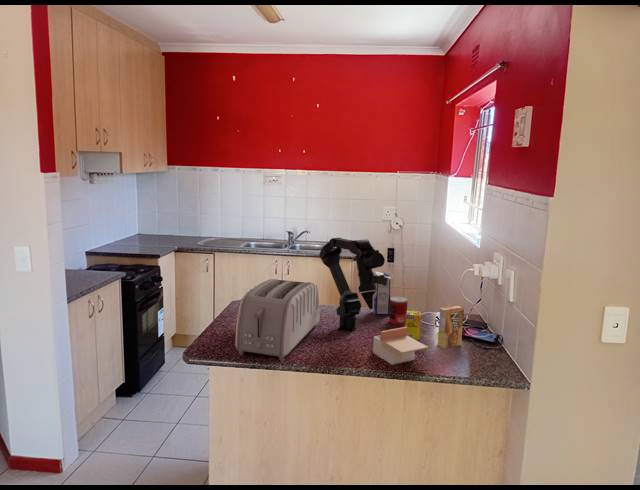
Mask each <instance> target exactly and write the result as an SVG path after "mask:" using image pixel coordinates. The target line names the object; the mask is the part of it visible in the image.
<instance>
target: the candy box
mask: <svg viewBox="0 0 640 490" xmlns="http://www.w3.org/2000/svg"><path fill="white" fill-rule="evenodd" d="M464 312H465V310H464V308H463V307H461V306H459V305H454V306H447V307H440V309H439V321H438V331H437V332H438V333H437V346H439V347H441V348H442V349H446V348H452V347H457V346H461V345H462V337H463V326H464V325H463V324H464Z"/></svg>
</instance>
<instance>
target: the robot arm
mask: <svg viewBox="0 0 640 490" xmlns="http://www.w3.org/2000/svg"><path fill="white" fill-rule="evenodd" d="M342 249H343V250H347V251H349V252H350V253H351V254H353V255H355V256H354V258H353V262H355V263H356V268H357V269H356V270H357V277H358V280H359V285H358V292H359V293H360V295H361V297H362V298H363V300H364V302H365V303H366V305H367V307H368V309H369V310H373V308H374V294H375V292H376V291H374V290H377V289H376V284H375V283H377V284H382V285H384V286H387V281H388V278H385V276H384V275H380V276H375V272H374V271H373V269H378V268H381V267H383V266H384V265H385V262H386V259H385V257H384V255H383V253H381V252H380V249H376V248H374V246H373V245H372V244H371V242H370V240H368V239H357V240H356V239H355V240H353V239H347V238H342V237H332V238H330V239H329V240H328V242H327V243H326V244H325V245H323V246H322V248H321V250H320V252H319V258H320V260H321V263H323V265H325V266H326V267H327V268H328V269H329V271H330V274H331V276H332V279H333V281H334V283H335V286H336V289H337V290H338V293H339V295H340V297H339V306H338V307H337V308H336V311H335V312H336V315H337V316H339V327H337V330H342V331H348V332H353V331H354V330H355V329H356V328H357V327H358V318H357V315H360V312H361V309H362V302H361V299H360V298H359V295H358V293H357V292H353V291H351V288H350V286H349V283H348V281H347V278H346V277H345V273H344V272H343V270H342V267H341V265H340V262H341V253H342V252H343V251H342Z"/></svg>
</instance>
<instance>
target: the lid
mask: <svg viewBox="0 0 640 490" xmlns="http://www.w3.org/2000/svg"><path fill="white" fill-rule="evenodd" d="M380 341H381V342H382V347H383V348H385V349H387V350H388V351H390V352H392V353H393V354H395V355H397V356H398V357H400V358H402V359H403V353H408V352H413V351H415V352H417V351H422V352H424V353H426V354H428V353H429V346H427V345H425V344H424V343H421V342H420V341H416V340H414V339H413V338H411V337H409V336H407V327H405V326H404V327H398V328H391V329H387V330H382V331H380Z"/></svg>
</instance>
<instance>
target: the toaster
mask: <svg viewBox="0 0 640 490" xmlns="http://www.w3.org/2000/svg"><path fill="white" fill-rule="evenodd" d="M318 289H319V288H318V285H317V284H315V283H314V282H309V281H307V282H305V281H293V280H285V279H284V280H283V279H282V280H281V279H277V278H270V279H269V278H268V279H267V280H265V281H262V282H260V283H258V284H257V285H255V286H253V288H250V289H249V291H246V292H245V294H244V296H242V298H241V299H240V303H239V307H238V308H239V309H238V310H237V318H236V326H235V327H236V328H235V345H234V346H235V348H236V350H237V351H238V353H241V354H242V353H244V354H245V352H247V353H252V354H253V353H254V354H261V355H267V356H273V357H274V356H275V357H278V361H279V360H285V359H286V358H285V357H286V356H288V354H289V353H290V352H291V351H292V350H293V349H294V348H295V347H296V346H297V345H298V344H299V343H300V342H301V341H302V340H303V339H304V338H305V336H307V335H308V334H309V332H310V331H312V329H313V328H315V327H314V326H317V327H318V323H319V321H320V298H319V290H318Z"/></svg>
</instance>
